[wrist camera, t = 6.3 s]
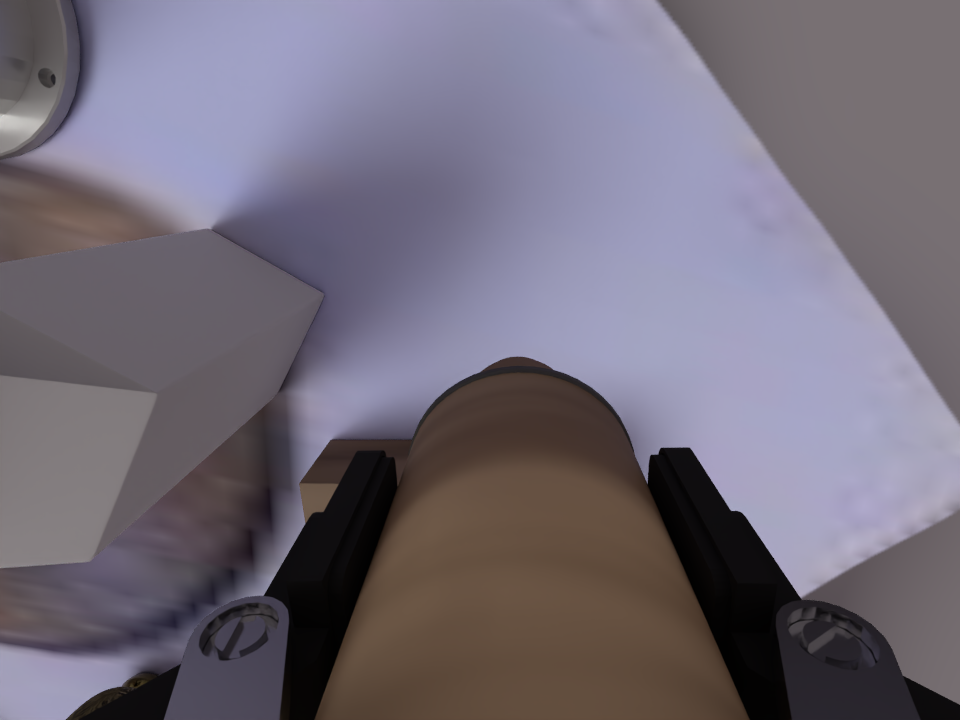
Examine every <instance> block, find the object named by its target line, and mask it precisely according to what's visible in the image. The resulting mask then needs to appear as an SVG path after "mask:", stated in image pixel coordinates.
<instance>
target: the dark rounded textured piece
mask: <svg viewBox="0 0 960 720" xmlns="http://www.w3.org/2000/svg"><path fill="white" fill-rule="evenodd" d="M156 677H158V676H157V675H154V674H151V673H141V674H137V675H135V676H133V677H131V678H130V679H128V680H127V681H126V682H125V683H124V684H123V685H122V687H116V688H112V689H108V690H105V691H103V692H101V693H99V694H97V695H95V696H94V697H92V698H90V699H89V700H88V701H86V702H85V703H84V704H82V705H81V706H80V707H79V708H78V709H77V710H75V711H74V712H73V713H72V714H71V715H70V716H69V717H68V718H67V719H66V720H78V719H80V718H82V717H84V716H86V715H88V714H89V713H91V712H93V711H95V710H97V709H99V708H101V707H102V706H104V705H106V704H108V703H110V702H112V701H113V700H115V699H117V698H119V697H121V696H123V695H125V694H126V693H128V692H130V691H132V690H134V689H136V688H137V687H139V686H141V685H143V684H145V683H147V682H149V681H150V680H152V679H154V678H156Z"/></svg>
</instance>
